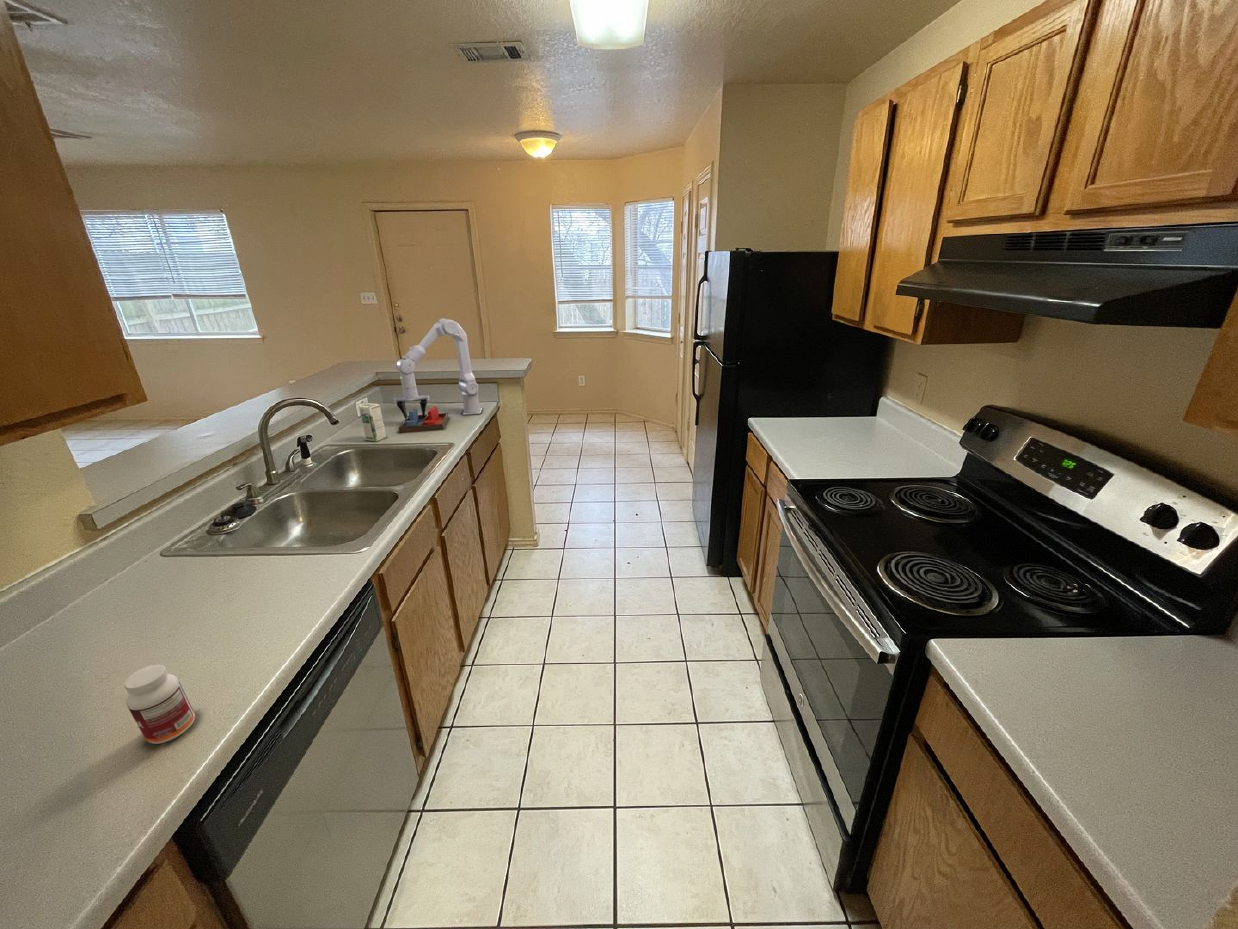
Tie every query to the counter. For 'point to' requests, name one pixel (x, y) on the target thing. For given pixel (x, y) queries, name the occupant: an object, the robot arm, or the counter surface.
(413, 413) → the blue spoon
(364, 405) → the syrup box
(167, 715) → the pill bottle
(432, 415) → the red spoon
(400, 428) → the sorting tray
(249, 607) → the counter surface
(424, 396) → the robot arm
